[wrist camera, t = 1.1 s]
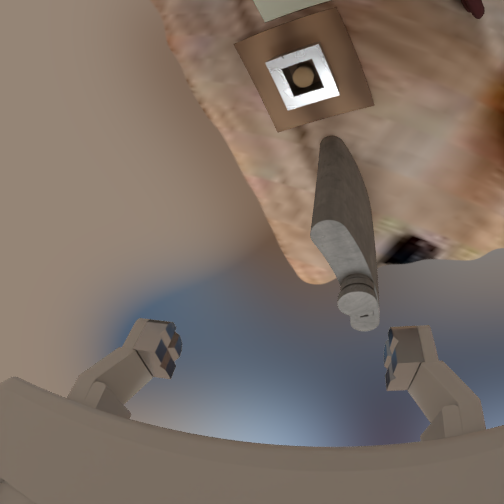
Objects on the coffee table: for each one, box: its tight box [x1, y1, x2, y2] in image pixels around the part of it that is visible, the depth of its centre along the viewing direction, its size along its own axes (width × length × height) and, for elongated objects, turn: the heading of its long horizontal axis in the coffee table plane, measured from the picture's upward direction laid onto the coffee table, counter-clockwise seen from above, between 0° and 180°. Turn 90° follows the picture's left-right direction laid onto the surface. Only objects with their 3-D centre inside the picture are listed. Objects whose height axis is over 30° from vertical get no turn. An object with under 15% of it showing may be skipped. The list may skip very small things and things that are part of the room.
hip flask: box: [310, 136, 379, 331], centre depth 34 cm, size 16×4×20 cm, turn 29°
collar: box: [265, 41, 340, 111], centre depth 28 cm, size 6×6×4 cm
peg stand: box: [234, 7, 374, 132], centre depth 29 cm, size 12×12×6 cm
